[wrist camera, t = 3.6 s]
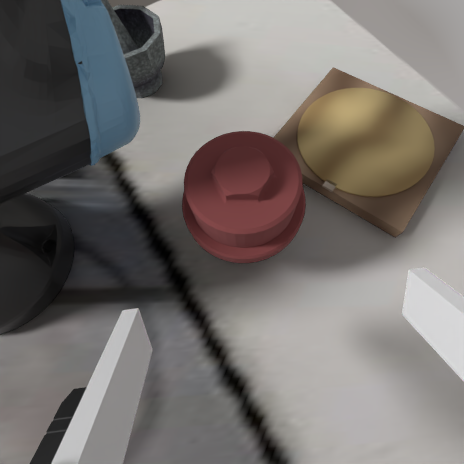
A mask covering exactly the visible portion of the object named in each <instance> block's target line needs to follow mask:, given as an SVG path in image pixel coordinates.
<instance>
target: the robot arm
mask: <svg viewBox="0 0 464 464" xmlns="http://www.w3.org/2000/svg"><path fill="white" fill-rule="evenodd" d="M139 125H140V112H139V106H138V102H137V97H136V93H135V90H134V86H133V83H132V79H131V76H130V73H129V70H128V66H127V63H126V60H125V57H124V54H123V51H122V48H121V46H120V43H119V40H118V37H117V34H116V31H115V29H114V26H113V24H112V21H111V18H110V16H109V13H108V11H107V9H106V7H105V6H104V4H103V3H102V1H101V0H0V334H2V333H5V332H8V331H11V330H13V329H16V328H18V327H20V326H22V325H24V324H25V323H27V322H28V321H30V320H31V319H33V318H34V317H36V316H37V315H38V314H39V313H40V312H42V311H43V310H44V309H45V308H46V307H47V306H48V305H49V304H50V303H51V301H52V300H53V299H54V298H55V297H56V295H57V294H58V292H59V291H60V289H61V288H62V286H63V284H64V283H65V281H66V279H67V276H68V274H69V271H70V268H71V265H72V261H73V255H74V240H73V234H72V231H71V228H70V226H69V224H68V222H67V220H66V219H65V217H64V216H63V215H62V214H61V213H60V212H59V211H58V210H57V209H55V208H54V207H52V206H51V205H49V204H48V203H46V202H45V201H43V200H41V199H40V198H38V197H35V196H33V195H30V194H27V192H29V191H31V190H33V189H35V188H38V187H40V186H42V185H44V184H47V183H49V182H51V181H53V180H56V179H58V178H60V177H62V176H65V175H67V174H69V173H71V172H73V171H76V170H78V169H80V168H82V167H85V166H87V165H91V166H92V165H95V163H97V162H98V161H99V159H100V158H101V157H103V156H105V155H107V154H109V153H111V152H113V151H115V150H117V149H119V148H121V147H122V146H124V145H126V144H128V143H130V142H131V141H132V140H133V138H134V137H135V135H136V133H137V132H138V129H139ZM402 315H403V316H404V317H405V318H406V319H407V320H408V322H409V323H410V324H411V325H412V326H413V327H414V328H415V329H416V330H417V331H418V332H419V333H420V335H421V336H422V337H423V338H424V339H425V340H426V341H427V342H428V343H429V344H430V345H431V347H432V348H433V349H434V350H435V351H436V352H437V353H438V354H439V355H440V356H441V357H442V358H443V360H444V361H445V362H446V363H447V364H448V365H449V366H450V367H451V368H452V369H453V370H454V371H455V373H456V374H457V375H458V376H459V377H460V378H461V379H462V380H463V381H464V296H463V295H462V294H460V293H459V292H457V291H456V290H455V289H453V288H452V287H451V286H449V285H448V284H447V283H445V282H444V281H443V280H441V279H440V278H439V277H437V276H436V275H435V274H433V273H432V272H431V271H429V270H428V269H426V268H425V267H422V268H415V269H409V272H408V278H407V285H406V291H405V297H404V304H403V310H402ZM151 354H152V347H151V344H150V341H149V338H148V335H147V332H146V329H145V326H144V323H143V320H142V317H141V314H140V311H139V308H135V309H128V310H123V311H122V313H121V315H120V317H119V319H118V321H117V323H116V326H115V328H114V330H113V332H112V334H111V336H110V339H109V341H108V343H107V345H106V347H105V349H104V351H103V354H102V356H101V358H100V360H99V362H98V364H97V366H96V369H95V371H94V373H93V375H92V377H91V379H90V382H89V384H88V386H87V387H85V388H78V389H74V390H73V391H72V392H71V393H70V394H69V395H68V396H67V398H66V399H65V400H64V401H63V402H62V403H61V405H60V407H59V409H58V411H57V413H56V415H55V417H54V420H53V422H51V424H50V426H49V428H48V430H47V434H46V435H45V436H44V438H43V439H42V441H41V443H40V445H39V447H38V449H37V451H36V453H35V455H34V457H33V458H32V460H31V462H30V464H123V461H124V457H125V453H126V449H127V446H128V442H129V438H130V434H131V430H132V427H133V423H134V419H135V415H136V411H137V408H138V404H139V400H140V396H141V392H142V388H143V385H144V381H145V377H146V373H147V369H148V366H149V362H150V358H151Z"/></svg>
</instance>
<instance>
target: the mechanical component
mask: <svg viewBox="0 0 464 464" xmlns="http://www.w3.org/2000/svg"><path fill="white" fill-rule="evenodd" d="M305 206H306V203H305V194H304V189H303V186H302V173H301V169H300V166H299V164H298V161H297V159H296V158H295V156H294V155H293V153H292V152H291V151H290V150H289V149H288V148H287V147H286V146H285V145H283V144H282V143H281V142H279V141H278V140H276V139H274V138H272V137H270V136H268V135H265V134H261V133H257V132H250V131H239V132H231V133H227V134H223V135H221V136H218V137H216V138H214V139H212V140H210V141H209V142H207V143H206V144H205V145H203V146H202V147H201V148H200V149H199V150H198V151H197V152H196V153H195V154H194V156H193V157H192V158H191V160H190V162H189V164H188V166H187V169H186V172H185V178H184V193H183V200H182V210H183V215H184V219H185V222H186V225H187V227H188V229H189V231H190V233H191V234H192V236H193V237H194V239H195V240H196V242H197V243H198V244H199V245H200V246H201V247H202V248H203V249H204V250H206V251H207V252H208V253H210V254H212V255H213V256H215V257H217V258H220V259H222V260H226V261H229V262H235V263H252V262H258V261H261V260H265V259H267V258H270V257H272V256H274V255H276V254H277V253H279V252H280V251H282V250H283V249H284V248H285V247H286V246H287V245H288V244H289V243H290V242H291V241H292V240H293V238H294V237H295V235H296V233H297V232H298V230H299V227H300V225H301V223H302V221H303V217H304V214H305Z"/></svg>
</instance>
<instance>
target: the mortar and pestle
mask: <svg viewBox="0 0 464 464" xmlns="http://www.w3.org/2000/svg"><path fill="white" fill-rule="evenodd" d="M101 1H102V3H103V4H104V6H105V7H106V9H107V11H108V13H109V16H110V18H111V21H112V24H113V26H114V29H115V31H116V34H117V37H118V40H119V43H120V46H121V48H122V51H123V54H124V57H125V60H126V63H127V66H128V70H129V73H130V76H131V79H132V83H133V86H134V90H135V93H136V97H137V98H144V97H146V96H148V95H151V94H153V93H155V92H156V91H157V90H158V88H159V87H160V86H161V85H162V73H161V70H160V69H161V68H162V67H163V64H164V59H165V50H164V40H163V32H162V26H161V23H160V19H159V16H157V15H156V14H154V13H153V12H151V11H150V10H148V9H147V8H145V7H144V6H133V5H118V6H115V7H113V8H112V7H111V5H110V4H109V2H108V0H101Z"/></svg>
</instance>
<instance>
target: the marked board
mask: <svg viewBox="0 0 464 464" xmlns="http://www.w3.org/2000/svg"><path fill="white" fill-rule="evenodd" d="M463 129H464V126H463V125H460V124H458V123H456V122H454V121H451V120H449V119H447V118H445V117H443V116H440V115H438V114H436V113H434V112H431V111H429V110H427V109H425V108H423V107H420V106H418V105H416V104H414V103H411V102H409V101H407V100H405V99H403V98H400V97H398V96H396V95H394V94H391V93H389V92H387V91H385V90H382V89H380V88H378V87H376V86H374V85H371V84H369V83H367V82H365V81H362V80H360V79H358V78H356V77H354V76H351V75H349V74H347V73H345V72H342V71H340V70H338V69H336V68H334V67H333V68H332V69H331V71H330V72H329V73H328V74H327V75H326V76H325V78H324V79H323V80H322V81H321V82H320V84H319V85H318V86H317V87H316V88H315V89H314V91H313V92H312V93H311V94H310V95H309V96H308V98H307V99H306V100H305V101H304V102H303V104H302V105H301V106H300V107H299V108H298V109H297V111H296V112H295V113H294V114H293V115H292V117H291V118H290V119H289V120H288V121H287V122H286V124H285V125H284V126H283V127H282V128H281V130H280V131H279V132H278V133H277V134H276V135H275V137H274V139H276V140H278V141H279V142H281V143H282V144H283V145H285V146H286V147H287V148H288V149H289V150H290V151H291V152H292V153H293V155H294V156H295V158H296V159H297V161H298V164H299V166H300V169H301V173H302V183H304V184H305V185H307V186H309V187H310V188H312V189H314V190H315V191H317V192H319V193H321V194H322V195H324V196H326V197H327V198H329V199H331V200H332V201H334V202H336V203H338V204H339V205H341V206H343V207H344V208H346V209H348V210H349V211H351V212H353V213H355V214H356V215H358V216H360V217H361V218H363V219H365V220H366V221H368V222H370V223H372V224H373V225H375V226H377V227H378V228H380V229H382V230H383V231H385V232H387V233H389V234H390V235H392V236H394V237H396V236H398V235H399V234H401V233H402V232H403V231H404V229H405V228H406V226H407V224H408V222H409V221H410V219H411V217H412V216H413V214H414V212H415V211H416V209H417V207H418V206H419V204H420V202H421V200H422V199H423V197H424V195H425V194H426V192H427V190H428V189H429V187H430V185H431V184H432V182H433V180H434V178H435V177H436V175H437V173H438V172H439V170H440V168H441V167H442V165H443V163H444V162H445V160H446V158H447V156H448V155H449V153H450V151H451V150H452V148H453V146H454V145H455V143H456V141H457V140H458V138H459V136H460V134H461V133H462V131H463Z"/></svg>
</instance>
